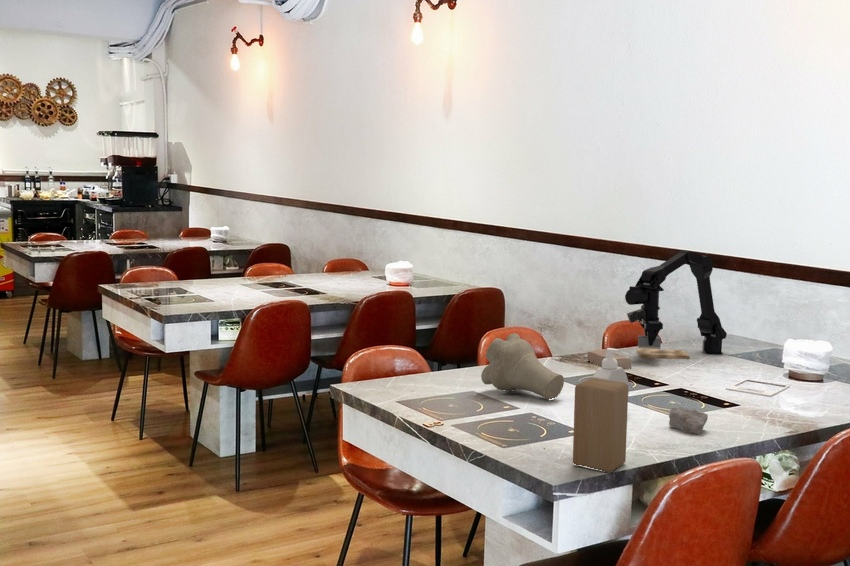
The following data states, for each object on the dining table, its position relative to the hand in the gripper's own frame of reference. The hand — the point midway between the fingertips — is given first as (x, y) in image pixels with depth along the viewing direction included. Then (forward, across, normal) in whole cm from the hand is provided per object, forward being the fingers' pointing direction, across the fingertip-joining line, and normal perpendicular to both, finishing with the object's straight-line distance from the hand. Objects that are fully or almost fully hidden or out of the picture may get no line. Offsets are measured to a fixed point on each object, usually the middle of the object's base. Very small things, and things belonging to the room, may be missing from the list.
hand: (649, 344), depth 335 cm
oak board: (+6, -10, +7) cm, 14 cm away
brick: (+7, +10, -16) cm, 20 cm away
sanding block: (+1, 0, 0) cm, 1 cm away
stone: (+6, +94, -6) cm, 94 cm away
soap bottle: (+6, +83, -26) cm, 87 cm away
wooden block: (+6, +127, -34) cm, 132 cm away
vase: (+6, +61, -49) cm, 78 cm away
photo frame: (+7, +42, +28) cm, 51 cm away
